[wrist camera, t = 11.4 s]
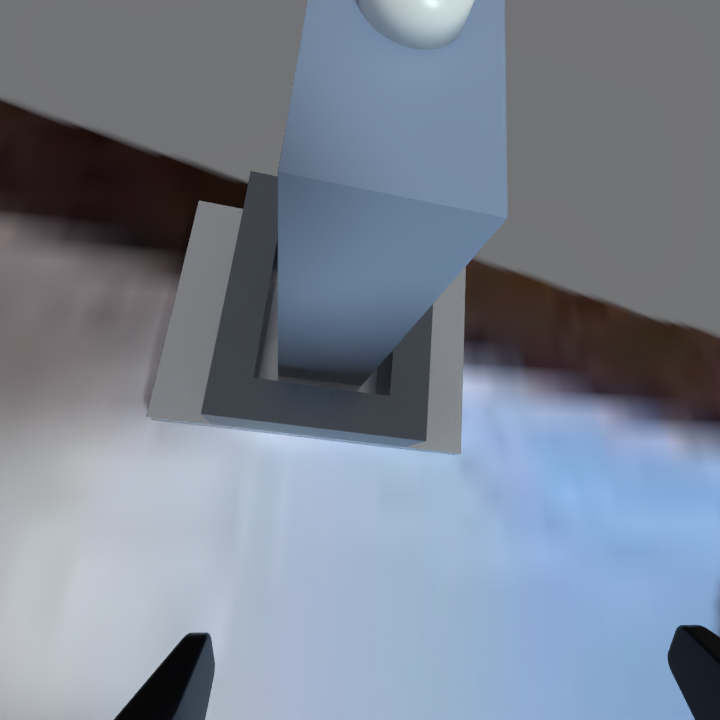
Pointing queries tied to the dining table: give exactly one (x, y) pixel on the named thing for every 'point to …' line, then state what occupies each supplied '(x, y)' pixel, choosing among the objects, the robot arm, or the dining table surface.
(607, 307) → the dining table surface
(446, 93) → the light blue tall block
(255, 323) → the frame
